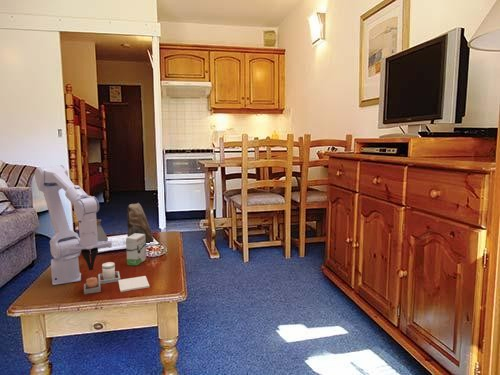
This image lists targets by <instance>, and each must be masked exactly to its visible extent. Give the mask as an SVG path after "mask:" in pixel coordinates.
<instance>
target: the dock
mask: <svg viewBox="0 0 500 375" xmlns="http://www.w3.org/2000/svg"><path fill="white" fill-rule="evenodd" d="M115 276H117V277H115V278H114V279H107V280H103V279H101V278H103V273H98V275H97V280H98V281H97V282H98V285H97V286H96V287H93V288H88V287H87V284H86V283H83V295H89V294H95V293H101V292H102V288H101V285H105V284H111V283H119V282H118V280H121V276H120V271H119V270H118V271H117V270H115Z"/></svg>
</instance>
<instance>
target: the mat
mask: <svg viewBox="0 0 500 375" xmlns="http://www.w3.org/2000/svg"><path fill="white" fill-rule="evenodd" d="M117 283H118V287H119V292H120V293H123V292H129V291H135V290H136V291H137V290H140V289H141V290H142V289H146V288H150V284H149V281H148V278H147V276H146V275H142V276H136V277H130V278H123V279H120V280H118V282H117Z"/></svg>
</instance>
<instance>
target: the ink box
mask: <svg viewBox="0 0 500 375" xmlns="http://www.w3.org/2000/svg"><path fill="white" fill-rule="evenodd" d="M125 244H126V246H125V247H126V265H127V266H138V265H139V266H140V264H141V263H143V262H144V261H146V260H147V249H146V248H147V245H146V241H145V234H139V233H135V234H133V235H131V236H129V237H128V236H127V237H125Z"/></svg>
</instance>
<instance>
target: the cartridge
mask: <svg viewBox="0 0 500 375" xmlns="http://www.w3.org/2000/svg"><path fill="white" fill-rule="evenodd" d="M101 269H102V274H103V277H102V280H107V279H114V278H116V275H115V272H116V264H115V262H113V261H108V262H104V263H102V265H101Z"/></svg>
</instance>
